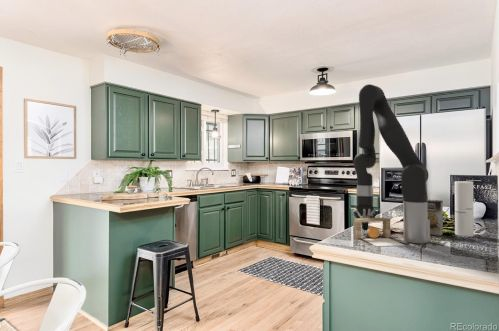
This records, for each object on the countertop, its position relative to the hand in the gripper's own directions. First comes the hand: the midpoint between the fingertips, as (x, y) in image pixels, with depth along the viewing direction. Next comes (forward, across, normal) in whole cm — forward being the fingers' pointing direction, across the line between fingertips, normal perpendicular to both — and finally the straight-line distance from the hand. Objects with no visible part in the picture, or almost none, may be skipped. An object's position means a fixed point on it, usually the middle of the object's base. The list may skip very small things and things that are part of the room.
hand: (364, 230), depth 147 cm
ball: (-1, +1, +10) cm, 10 cm away
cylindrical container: (+2, -44, +9) cm, 45 cm away
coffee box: (+2, -31, +4) cm, 32 cm away
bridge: (+2, +1, +8) cm, 8 cm away
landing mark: (+1, +1, +17) cm, 17 cm away
